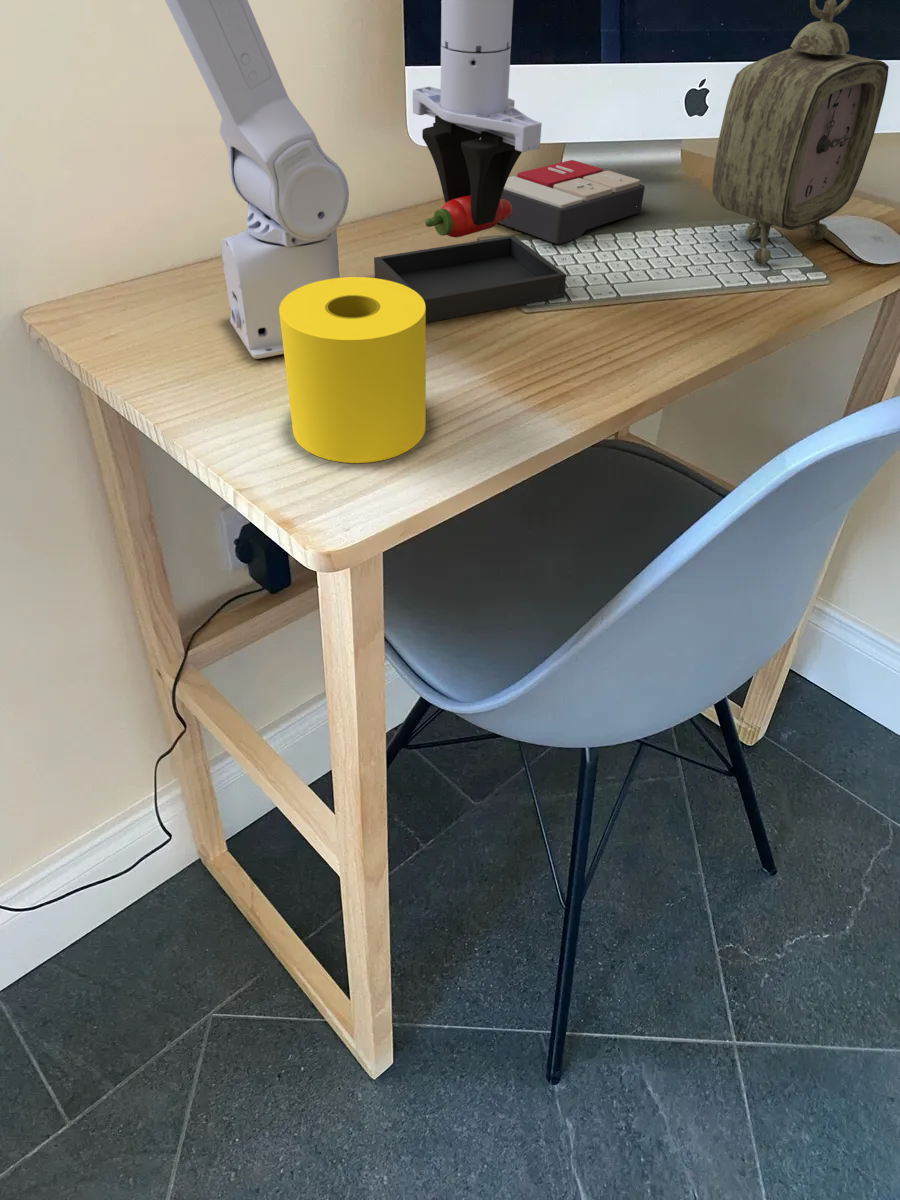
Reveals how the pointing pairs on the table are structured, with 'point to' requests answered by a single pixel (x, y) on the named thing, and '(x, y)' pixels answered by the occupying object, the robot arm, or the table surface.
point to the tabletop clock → (798, 131)
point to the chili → (463, 217)
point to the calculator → (569, 200)
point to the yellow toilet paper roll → (355, 367)
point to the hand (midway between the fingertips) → (470, 216)
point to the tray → (474, 276)
